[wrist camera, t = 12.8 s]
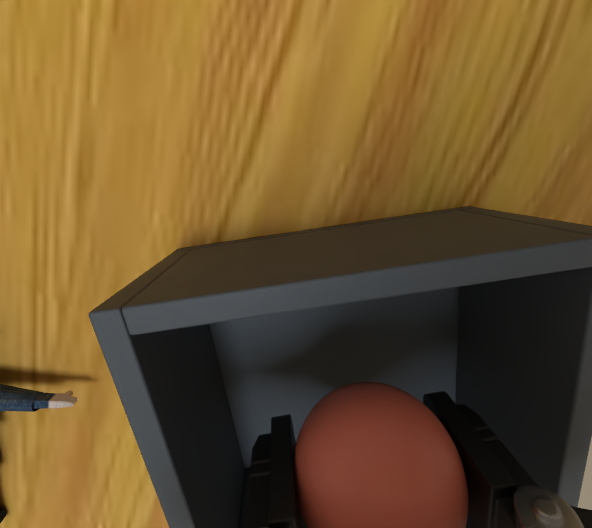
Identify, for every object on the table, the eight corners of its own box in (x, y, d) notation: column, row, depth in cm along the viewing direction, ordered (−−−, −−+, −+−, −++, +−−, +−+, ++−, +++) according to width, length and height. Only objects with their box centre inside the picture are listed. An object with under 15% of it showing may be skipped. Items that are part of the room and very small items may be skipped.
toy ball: (416, 342, 11) (527, 476, 6) (418, 446, 13) (508, 621, 8) (281, 362, 11) (282, 513, 6) (299, 465, 13) (312, 653, 8)
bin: (470, 205, 14) (635, 231, 7) (461, 435, 18) (564, 580, 11) (176, 248, 13) (85, 313, 7) (235, 469, 17) (210, 637, 11)
